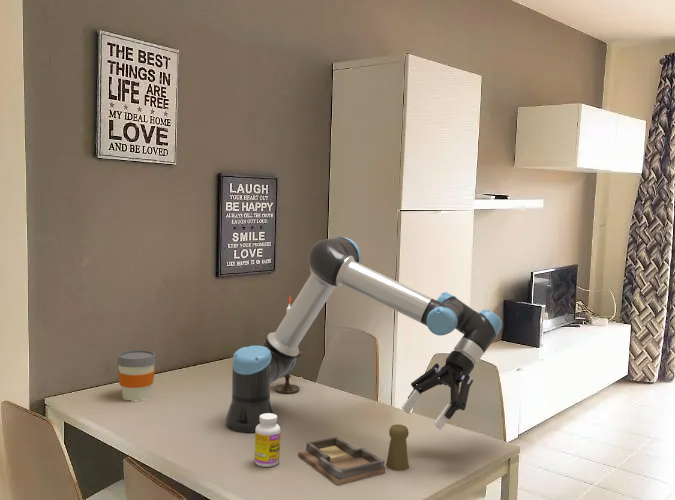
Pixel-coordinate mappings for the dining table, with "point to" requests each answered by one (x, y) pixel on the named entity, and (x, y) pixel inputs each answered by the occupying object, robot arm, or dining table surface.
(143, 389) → the reusable coffee cup
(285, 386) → the candlestick
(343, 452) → the keyhole board
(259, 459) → the supplement bottle
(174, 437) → the dining table surface
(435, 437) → the dining table surface
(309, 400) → the dining table surface
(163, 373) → the dining table surface
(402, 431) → the olive tall rounded piece
